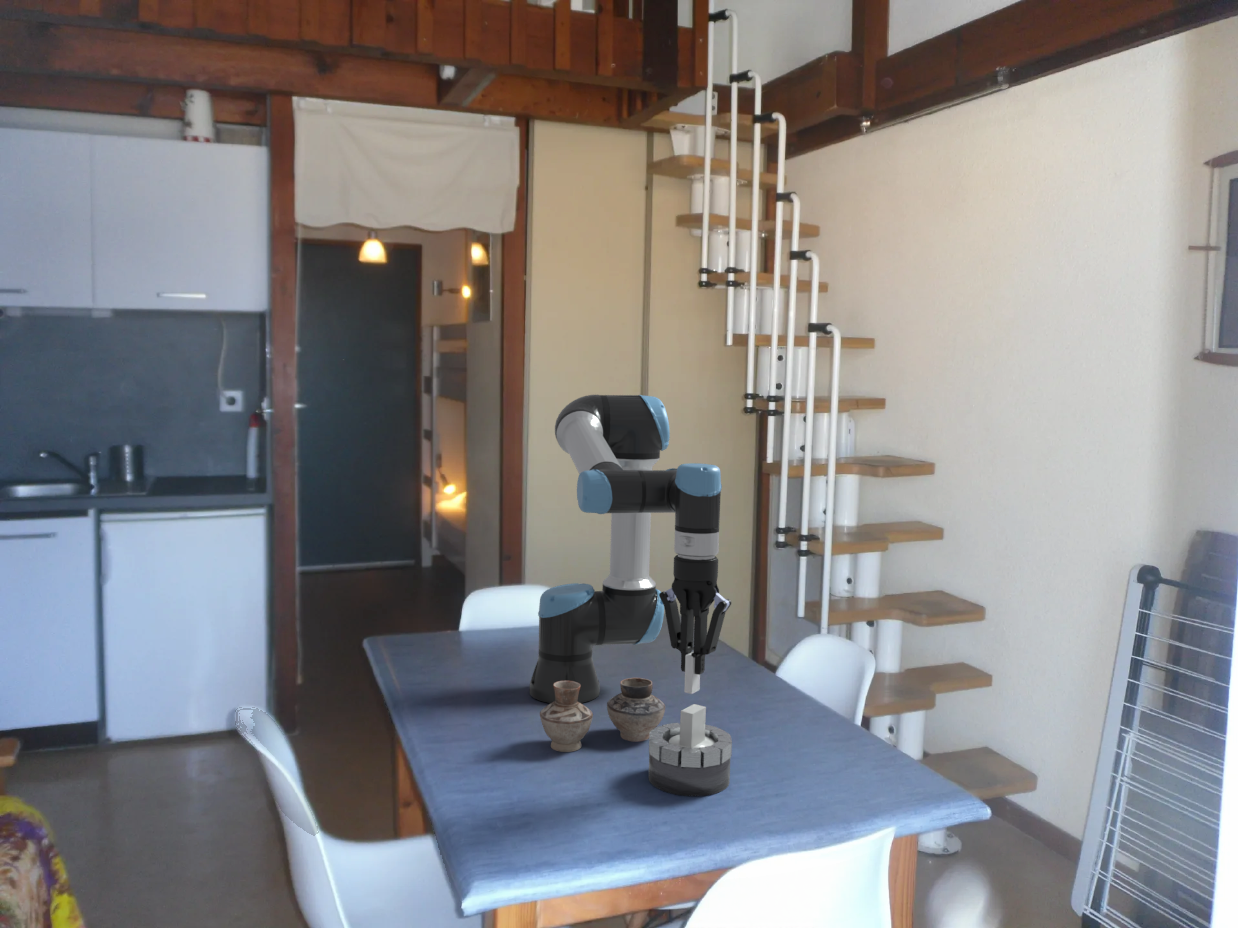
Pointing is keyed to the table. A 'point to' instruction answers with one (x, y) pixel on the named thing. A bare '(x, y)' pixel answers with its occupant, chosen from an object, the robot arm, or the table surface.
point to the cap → (692, 728)
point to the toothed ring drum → (689, 762)
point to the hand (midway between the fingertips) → (692, 690)
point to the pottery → (626, 710)
